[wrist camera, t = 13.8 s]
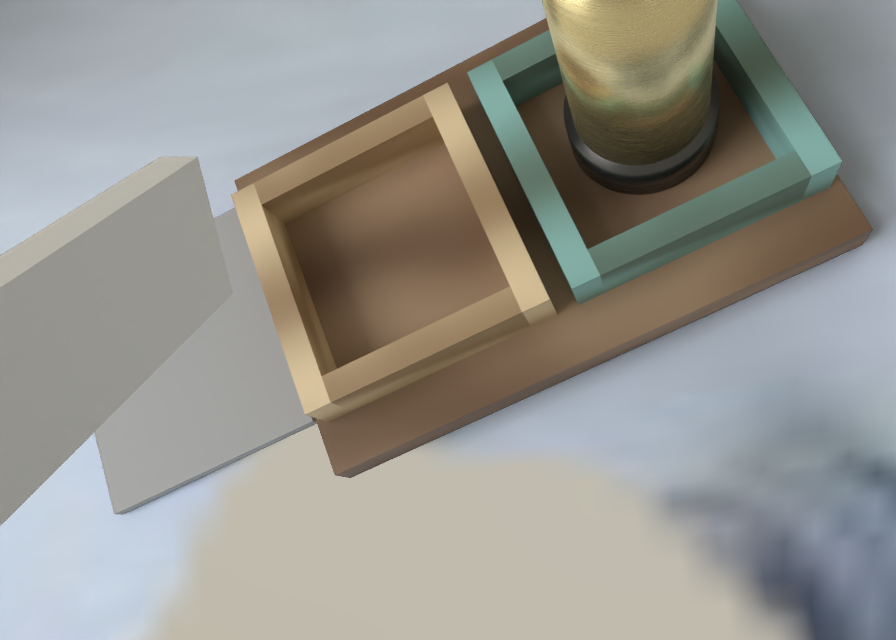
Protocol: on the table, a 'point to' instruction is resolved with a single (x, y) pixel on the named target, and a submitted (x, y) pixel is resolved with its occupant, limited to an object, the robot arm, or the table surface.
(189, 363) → the mat
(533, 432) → the table surface
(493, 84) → the brown wooden flat tray
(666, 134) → the gold metal cylinder
